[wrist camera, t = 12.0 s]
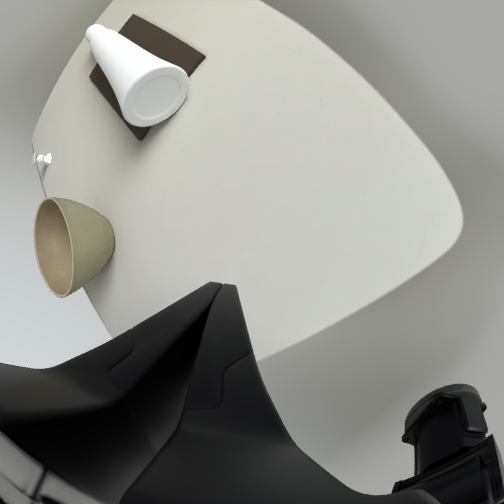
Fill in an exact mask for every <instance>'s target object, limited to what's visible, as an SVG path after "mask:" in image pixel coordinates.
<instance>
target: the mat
mask: <svg viewBox="0 0 504 504" xmlns="http://www.w3.org/2000/svg"><path fill="white" fill-rule="evenodd" d="M118 33H119V34H121V35H122V36H124V37H125V38H127V39H129V40H130V41H132V42H133V43H135V44H136V45H138V46H139V47H141V48H143V49H144V50H146V51H147V52H149V53H151V54H153V55H155V56H156V57H158V58H160V59H162V60H164V61H167V62H169V63H171V64H174V65H176V66H178V67H180V68H182V69H183V70H184V71H185V72H186V74H187V76H188V77H189V76H190V74H191V73H192V72H193V71H194V70H195V69H196V67H197V66H198V65H199V64H200V63H201V62H202V61H203V59H204V58H205V57H206V56H205V55H203V54H202V53H200V52H198V51H197V50H195V49H194V48H192V47H191V46H189V45H188V44H186V43H184V42H183V41H181V40H179V39H178V38H176V37H174V36H173V35H171V34H169V33H168V32H166V31H164V30H162V29H161V28H159V27H157V26H155V25H153V24H152V23H150V22H148V21H146V20H144V19H142V18H140V17H138V16H136V15H134V14H133V15H132V16H131V17H130V18H129V19H128V21H127V22H126V23H125V25H124V26H123V27H122V28H121V30H120V31H119V32H118ZM89 77H90V78H91V80H92V81H93V82H94V84H95V85H96V86H97V88H98V89H99V90H100V91H101V93H102V94H103V95H104V97H105V98H106V99H107V100H108V102H109V103H110V104H111V106H112V107H113V108H114V109H115V111H116V112H117V113H118V115H119V116H120V117H121V118H122V120H123V121H124V122H125V123H126V125H127V126H128V127H129V128H130V130H131V131H132V132H133V134H134V135H135V136H136V137H137V139H138V140H140V141H142V139H143V138H144V136H145V135H146V133H147V132H148V130H149V129H150V127H151V126H147V127H139V126H134V125H132V124H130V123H129V122H127V121H126V119H125V118H124V116H123V114H122V111H121V108H120V105H119V102H118V100H117V97H116V95H115V93H114V90H113V88H112V86H111V84H110V83H109V81H108V79H107V77H106V76H105V74H104V72H103V71H102V69H101V67H100V66H99V64H98V63H97V64H96V66H95V68H94V69H93V71H92V73H91V74H90V76H89Z"/></svg>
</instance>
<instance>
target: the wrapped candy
mask: <svg viewBox="0 0 504 504" xmlns="http://www.w3.org/2000/svg"><path fill="white" fill-rule="evenodd" d="M37 162H38V164H43V163H45V164H46V165H48V164H49V163H50V162H51V153H50V154H49V155H47V156H46V157H44V155H39V156H37V155H36V154H35V153H34V155H33V156H32V165H34V164H35V163H37Z"/></svg>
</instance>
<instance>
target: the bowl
mask: <svg viewBox="0 0 504 504" xmlns="http://www.w3.org/2000/svg"><path fill="white" fill-rule="evenodd" d="M34 246H35V253H36V259H37V263H38V266H39V269H40V272H41V275H42V277H43V279H44V281H45V283H46V285H47V286H48V288H49V289H50V291H51V292H52V293H53V294H54V295H56V296H57V297H60V298H63V297H66V296H68V295H70V294H72V293H73V292H75V291H77V290H78V289H80V288H81V287H83V286H84V285H85V284H87V283H88V282H89V281H90V280H91V279H92V278H93V277H94V276H95V275H96V274H97V273H98V272H99V271H100V270H101V269H102V268H103V267H104V265H105V264H106V263H107V261H108V260H109V258H110V257H111V255H112V253H113V250H114V233H113V229H112V226H111V224H110V223H109V221H108V220H107V219H106V218H105V217H104V216H103V215H101V214H100V213H98V212H97V211H95V210H93V209H92V208H90V207H88V206H85V205H83V204H81V203H78V202H75V201H72V200H68V199H63V198H56V197H47V198H45V199H43V201H42V202H41V203H40V205H39V207H38V210H37V213H36V217H35V223H34Z"/></svg>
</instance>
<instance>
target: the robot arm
mask: <svg viewBox="0 0 504 504" xmlns="http://www.w3.org/2000/svg"><path fill="white" fill-rule="evenodd" d="M442 397H443V398H442ZM440 398H441V399H440ZM486 408H487V407H486V404H485V403H482V402H479V401H478V400H474V399H470V398H466V397H462V396H460V397H458V396H455V395H451V394H447V393H443V392H442V393H439V394H438V395H437V396H436V397H435V398H434V400H433V401H432V402H431V403H430V405H429V406H428V407H427V408H426V410H425V411H424V412H423V413H422V414H421V416H420V417H419V418H418V419H417V420H416V421H415V423H414V424H413V425H412V426H411V427H410V428H409V429H408V430H407V432H406V433H405V434H404V435H403V436H402V442H404V443H409V444H413V445H414V451H415V452H414V453H415V471H414V476H413V477H411V478H408V479H406V480H403V481H402V480H401V481H398V482H396V483H395V485H394V487H393V490H392V493H391V494H387V495H368V494H363V493H360V492H357V491H354V490H352V489H350V488H349V487H347V486H345V485H344V484H343V483H342V482H340V481H339V480H338V479H336V478H335V477H333V476H332V475H331V474H330V473H329V472H327V471H326V470H325V469H324V468H322V467H321V466H320V465H319V464H317V463H316V462H315V461H314V460H312V459H311V458H310V457H309V456H308V455H307V454H305V453H304V452H303V451H302V450H301V449H300V448H299V447H298V446H297V445H296V444H295V442H294V441H293V440H292V438H291V437H290V435H289V433H288V431H287V430H286V428H285V426H284V424H283V422H282V420H281V418H280V416H279V414H278V412H277V410H276V408H275V406H274V404H273V402H272V400H271V398H270V396H269V394H268V392H267V390H266V387H265V385H264V383H263V381H262V378H261V375H260V372H259V369H258V366H257V363H256V359H255V356H254V354H253V349H252V345H251V341H250V337H249V334H248V330H247V326H246V322H245V318H244V314H243V310H242V307H241V303H240V299H239V295H238V291H237V287H236V285H231V284H223V285H222V283H216V282H209V283H207V284H205V285H203V286H202V287H200V288H198V289H197V290H195V291H193V292H192V293H190V294H188V295H187V296H185V297H183V298H182V299H180V300H178V301H177V302H175V303H173V304H172V305H170V306H168V307H167V308H165V309H163V310H162V311H160V312H158V313H156V314H155V315H153V316H151V317H150V318H148V319H146V320H145V321H143V322H141V323H140V324H138V325H136V326H135V327H133V328H132V329H129V330H128V331H126V332H124V333H123V334H121V335H119V336H117V337H115V338H114V339H112V340H110V341H108V342H106V343H104V344H102V345H101V346H98V347H96V348H94V349H92V350H90V351H88V352H86V353H84V354H81V355H79V356H77V357H75V358H73V359H70V360H68V361H66V362H64V363H62V364H60V365H57V366H54V367H51V368H45V369H33V368H26V367H20V366H15V365H9V364H4V363H0V504H504V501H503V500H504V466H503V462H502V458H501V454H500V452H499V449H498V446H497V444H496V441H495V439H494V436H493V434H491V435H490V436H488V437H487V439H486V435H485V434H486V433H487V432H488V428H487V424H486V421H485V418H484V415H483V412H484V411H485V410H486ZM501 501H503V502H501ZM500 502H501V503H500Z"/></svg>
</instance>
